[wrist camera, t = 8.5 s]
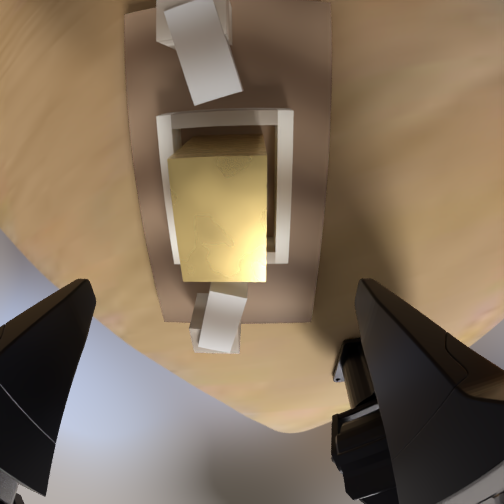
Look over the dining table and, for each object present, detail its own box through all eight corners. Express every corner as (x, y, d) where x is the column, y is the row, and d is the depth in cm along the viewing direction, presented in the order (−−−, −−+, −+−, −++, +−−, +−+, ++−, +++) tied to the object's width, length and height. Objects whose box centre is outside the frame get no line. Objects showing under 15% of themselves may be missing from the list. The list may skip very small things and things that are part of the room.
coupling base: (308, 310, 25) (318, 360, 20) (168, 310, 25) (153, 359, 21) (325, 8, 14) (351, -18, 9) (133, 18, 14) (93, 0, 9)
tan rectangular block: (194, 136, 17) (167, 158, 12) (262, 133, 17) (267, 155, 12) (201, 227, 20) (183, 281, 15) (262, 226, 20) (265, 281, 15)
